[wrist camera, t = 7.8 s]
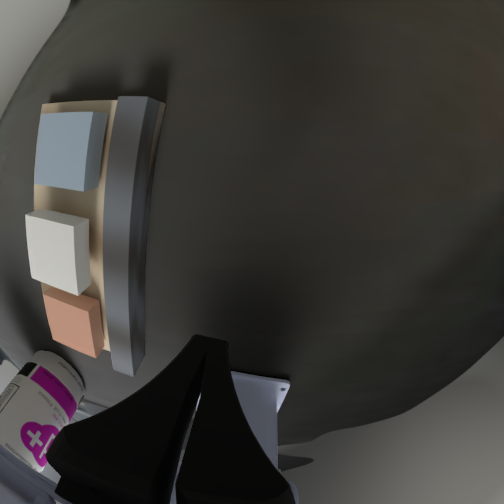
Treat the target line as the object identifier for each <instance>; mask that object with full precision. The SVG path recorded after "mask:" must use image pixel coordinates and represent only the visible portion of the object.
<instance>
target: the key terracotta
mask: <svg viewBox="0 0 504 504" xmlns="http://www.w3.org/2000/svg"><path fill="white" fill-rule="evenodd" d="M43 297H44V302H45V307H46V312H47V317H48V321H49V325H50V329H51V333H52V337H53V340H55V341H57V342H59V343H62V344H64V345H66V346H68V347H70V348H73V349H75V350H77V351H79V352H82V353H84V354H87V355H89V356H91V357H94V358H97V356H98V355H99V353H100V352H101V350H102V349H103V348H104V346H105V345H104V338H103V331H102V323H101V314H100V304H99V300H97V299H94V298H91V297H88V296H85V295H82V294H80V295H79V296H77V295H74V294H72V293H69V292H66V291H63V290H61V289H58V288H56V287H53V286H52V287H51V288H50V289H48V290H47V291H46V292H45V293H43Z"/></svg>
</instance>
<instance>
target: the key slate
mask: <svg viewBox="0 0 504 504" xmlns="http://www.w3.org/2000/svg"><path fill="white" fill-rule="evenodd" d="M107 117H108V114H107V113H100V112H63V113H48V114H41V118H40V124H39V131H38V140H37V149H36V161H35V180H34V184H38V185H45V186H51V187H58V188H65V189H71V190H77V191H87V190H90V189H93V188H97V187H99V175H100V165H101V156H102V148H103V141H104V134H105V128H106V122H107Z"/></svg>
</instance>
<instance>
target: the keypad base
mask: <svg viewBox="0 0 504 504" xmlns="http://www.w3.org/2000/svg"><path fill="white" fill-rule="evenodd" d="M165 106H166V104H165V103H163V102H160V101H158V100H155V99H153V98H150V97H144V96H118V100H93V101H73V102H60V103H50V104H43V105H42V110H41V114H48V113H63V112H100V113H107V114H108V117H107V122H106V128H105V134H104V141H103V148H102V156H101V165H100V175H99V187H97V188H93V189H90V190H87V191H77V190H71V189H65V188H58V187H51V186H45V185H38V184H34V211H36V210H38V209H46V210H50V211H55V212H59V213H64V214H69V215H73V216H78V217H83V218H87V219H89V260H90V278H91V285H90V286H89V287H87V288H86V289H85V290H84V291H83V292H82V293H81V294H82V295H85V296H88V297H91V298H94V299H97V300H99V304H100V314H101V323H102V331H103V338H104V345H105V346H104V348H103V349H105V350H108V351H110V352H111V359H112V365H113V370H116V371H118V372H121V373H124V374H127V375H130V376H133V377H134V375H135V373H136V371H137V369H138V368H139V366H140V364H141V362H142V360H143V358H144V356H145V341H144V281H145V257H146V241H147V228H148V217H149V207H150V198H151V189H152V181H153V174H154V167H155V160H156V154H157V148H158V142H159V136H160V131H161V125H162V120H163V115H164V111H165ZM40 118H41V116H40ZM39 124H40V123H39ZM38 131H39V130H38ZM37 140H38V138H37ZM36 149H37V147H36ZM35 161H36V158H35ZM34 180H35V175H34ZM41 287H42V293H45V292H46V291H47V290H48V289H50V288H51V287H52V286H51V285H48V284H46V283H43V282H41ZM43 298H44V297H43ZM44 303H45V302H44ZM45 308H46V307H45ZM46 313H47V312H46ZM48 322H49V321H48ZM49 326H50V325H49Z"/></svg>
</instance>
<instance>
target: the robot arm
mask: <svg viewBox="0 0 504 504" xmlns="http://www.w3.org/2000/svg"><path fill="white" fill-rule="evenodd" d="M289 388H290V382H289V381H288V380H283V379H275V378H269V377H262V376H256V375H250V374H245V373H239V372H234V371H231V370H230V364H229V356H228V343H227V341H224V340H219V339H215V338H210V337H206V336H202V335H197V334H195V335H193V336H192V338H191V339H190V341H189V342H188V343H187V345H186V346H185V347H184V348H183V349H182V351H181V352H180V353H179V354H178V355H177V356H176V357H175V358H174V359H173V360H172V361H171V363H170V364H169V365H168V366H167V367H166V368H164V369H163V370H162V371H161V372H160V373H159V374H158V375H157V376H156V377H155V378H153V379H152V380H151V381H150V382H149V383H147V384H146V385H145V386H143V387H142V388H141V389H139V390H138V391H137V392H135V393H134V394H132V395H131V396H129V397H127V398H126V399H124V400H123V401H121V402H119V403H118V404H116V405H114V406H112V407H110V408H108V409H106V410H104V411H102V412H100V413H98V414H96V415H94V416H91V417H89V418H86V419H84V420H81V421H78V422H75V423H73V424H69V425H66V426H64V427H63V428H62V429H61V430H60V432H59V433H58V434H57V435H56V437H55V438H54V440H53V441H52V443H51V445H50V447H49V449H48V450H47V452H46V454H45V457H46V460H47V461H48V463H49V464H50V465H51V466H52V467H53V468H54V469H55V470H56V471H57V472H58V473H59V474H60V476H61V478H60V480H59V483H58V484H56V483H55V482H53V481H51V480H50V479H48V478H47V477H45V476H43V475H42V474H40V473H39V472H37V471H36V470H34V469H33V468H31V467H30V466H28V465H27V464H25V463H24V462H23V461H21V460H20V459H18V458H17V457H16V456H14V455H13V454H12V453H10V452H9V451H8V450H7V449H5V448H4V447H3V446H2V445H0V504H56V502H55V500H57V501H58V502H60V503H62V504H299V498H298V492H297V488H296V486H295V485H293V484H292V483H291V482H290V481H289V480H286V479H285V478H284V477H283V476H282V475H281V474H280V469H277V412H278V410H279V408H280V406H281V404H282V402H283V400H284V398H285V396H286V394H287V392H288V390H289ZM196 405H197V409H196V414H195V418H194V421H193V425H192V429H191V432H190V436H189V439H188V443H187V446H186V450H185V453H184V456H183V460H182V462H179V458H180V454H181V450H182V446H183V442H184V439H185V435H186V432H187V430H188V427H189V424H190V421H191V419H192V416H193V413H194V410H195V407H196ZM178 463H179V466H178ZM177 467H178V470H177ZM54 499H55V500H54Z"/></svg>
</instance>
